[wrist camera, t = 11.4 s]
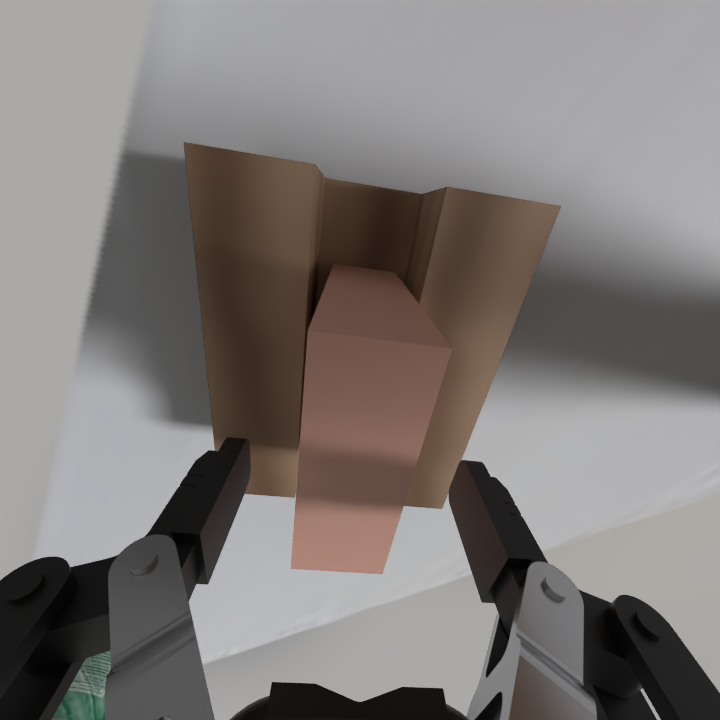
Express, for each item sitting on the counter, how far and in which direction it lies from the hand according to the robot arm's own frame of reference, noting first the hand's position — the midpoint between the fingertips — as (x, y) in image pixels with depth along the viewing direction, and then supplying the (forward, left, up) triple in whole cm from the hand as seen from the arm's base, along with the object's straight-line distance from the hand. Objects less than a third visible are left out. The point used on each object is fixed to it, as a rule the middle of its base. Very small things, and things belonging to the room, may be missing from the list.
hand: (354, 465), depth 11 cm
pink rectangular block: (0, 0, -11) cm, 11 cm away
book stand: (0, 0, -13) cm, 13 cm away
